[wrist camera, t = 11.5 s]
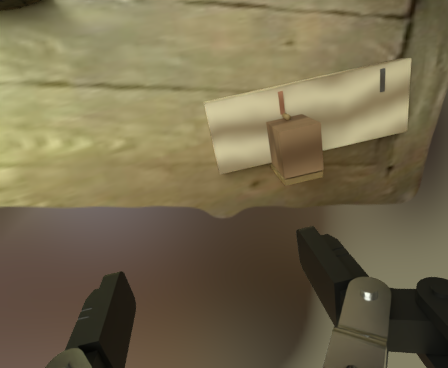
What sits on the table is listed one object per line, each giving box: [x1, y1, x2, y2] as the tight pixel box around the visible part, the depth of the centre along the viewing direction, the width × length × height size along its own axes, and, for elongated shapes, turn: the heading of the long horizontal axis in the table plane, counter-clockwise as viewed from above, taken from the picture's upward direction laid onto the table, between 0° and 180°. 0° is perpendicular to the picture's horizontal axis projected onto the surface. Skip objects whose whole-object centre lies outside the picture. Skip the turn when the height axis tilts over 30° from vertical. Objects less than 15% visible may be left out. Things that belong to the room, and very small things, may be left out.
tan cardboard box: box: [266, 113, 324, 186], centre depth 39 cm, size 8×5×7 cm, turn 11°
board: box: [204, 58, 411, 174], centre depth 41 cm, size 10×28×2 cm, turn 101°
